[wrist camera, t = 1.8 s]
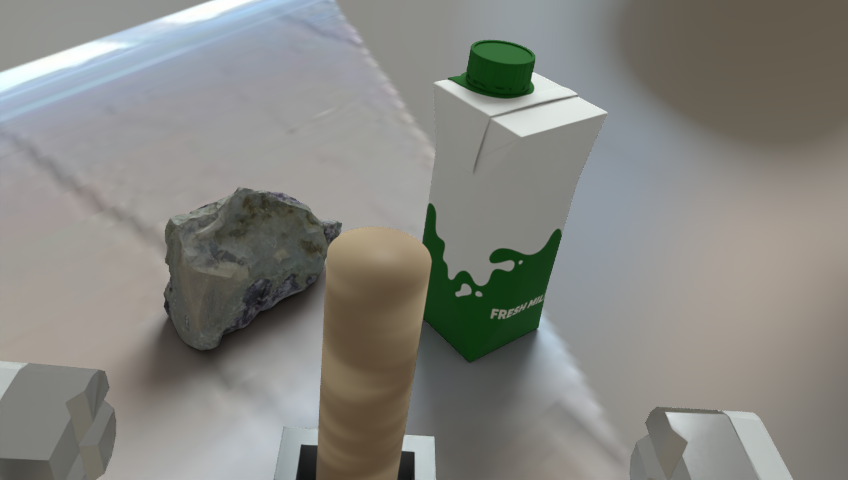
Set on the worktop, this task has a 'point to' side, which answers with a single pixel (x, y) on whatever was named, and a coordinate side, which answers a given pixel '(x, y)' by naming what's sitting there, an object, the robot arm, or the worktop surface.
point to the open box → (301, 456)
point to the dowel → (369, 351)
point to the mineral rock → (240, 261)
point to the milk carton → (500, 194)
